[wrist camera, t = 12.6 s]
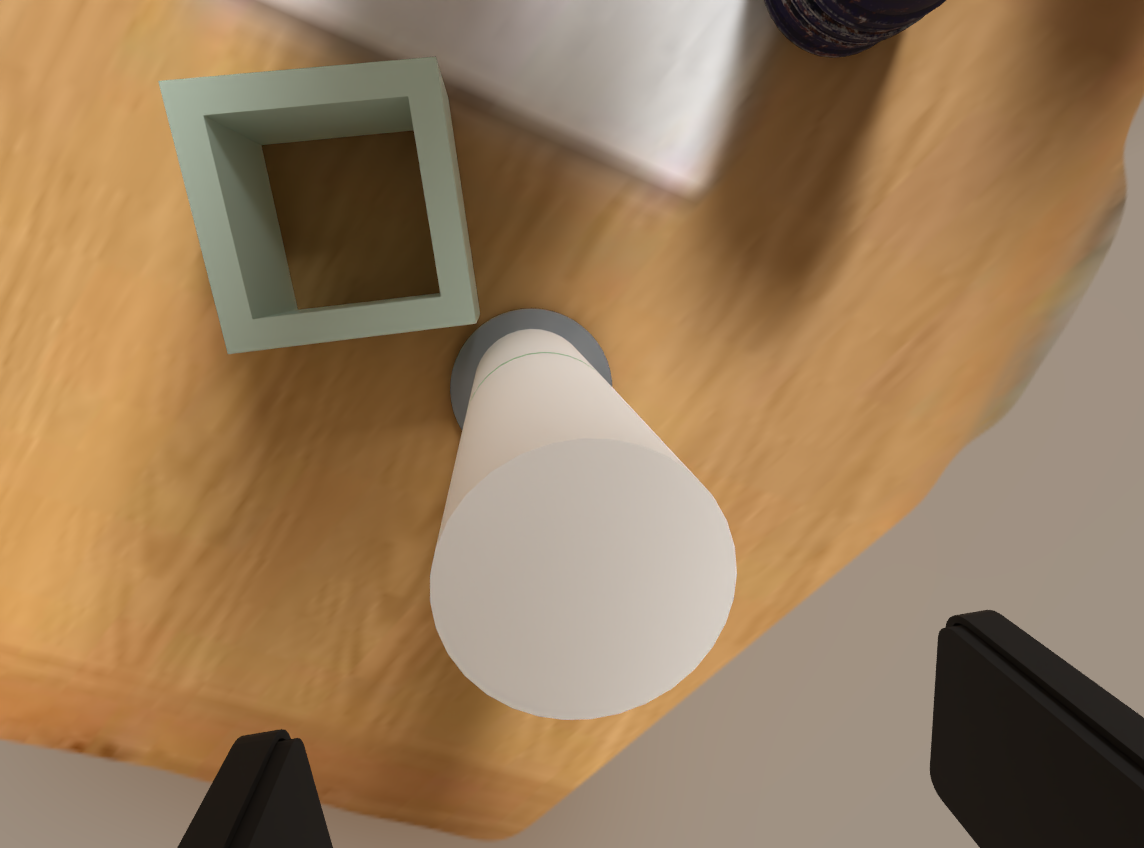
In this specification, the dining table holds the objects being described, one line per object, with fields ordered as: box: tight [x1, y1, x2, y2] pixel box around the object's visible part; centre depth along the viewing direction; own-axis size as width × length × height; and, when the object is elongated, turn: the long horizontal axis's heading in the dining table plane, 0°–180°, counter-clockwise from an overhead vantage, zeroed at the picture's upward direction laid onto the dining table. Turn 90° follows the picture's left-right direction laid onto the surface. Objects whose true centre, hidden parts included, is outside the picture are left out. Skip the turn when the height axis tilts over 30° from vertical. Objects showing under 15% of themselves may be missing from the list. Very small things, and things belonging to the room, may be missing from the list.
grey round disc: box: [450, 308, 612, 430], centre depth 39 cm, size 10×10×1 cm
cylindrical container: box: [430, 329, 737, 720], centre depth 26 cm, size 7×7×25 cm
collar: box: [158, 57, 480, 354], centre depth 32 cm, size 12×12×7 cm
